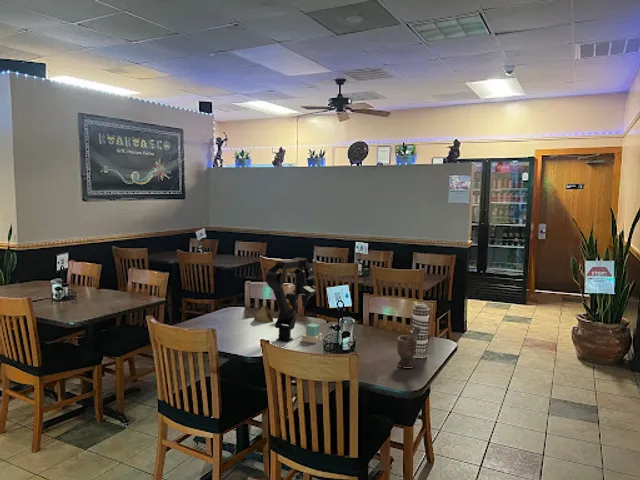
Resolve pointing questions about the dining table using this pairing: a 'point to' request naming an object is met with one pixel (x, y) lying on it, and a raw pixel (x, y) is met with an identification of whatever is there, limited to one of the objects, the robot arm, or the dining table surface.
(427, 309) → the decorative candle
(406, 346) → the mortar and pestle
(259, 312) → the rock
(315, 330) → the teal cube
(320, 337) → the beech block
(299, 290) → the robot arm
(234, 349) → the dining table surface
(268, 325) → the dining table surface
